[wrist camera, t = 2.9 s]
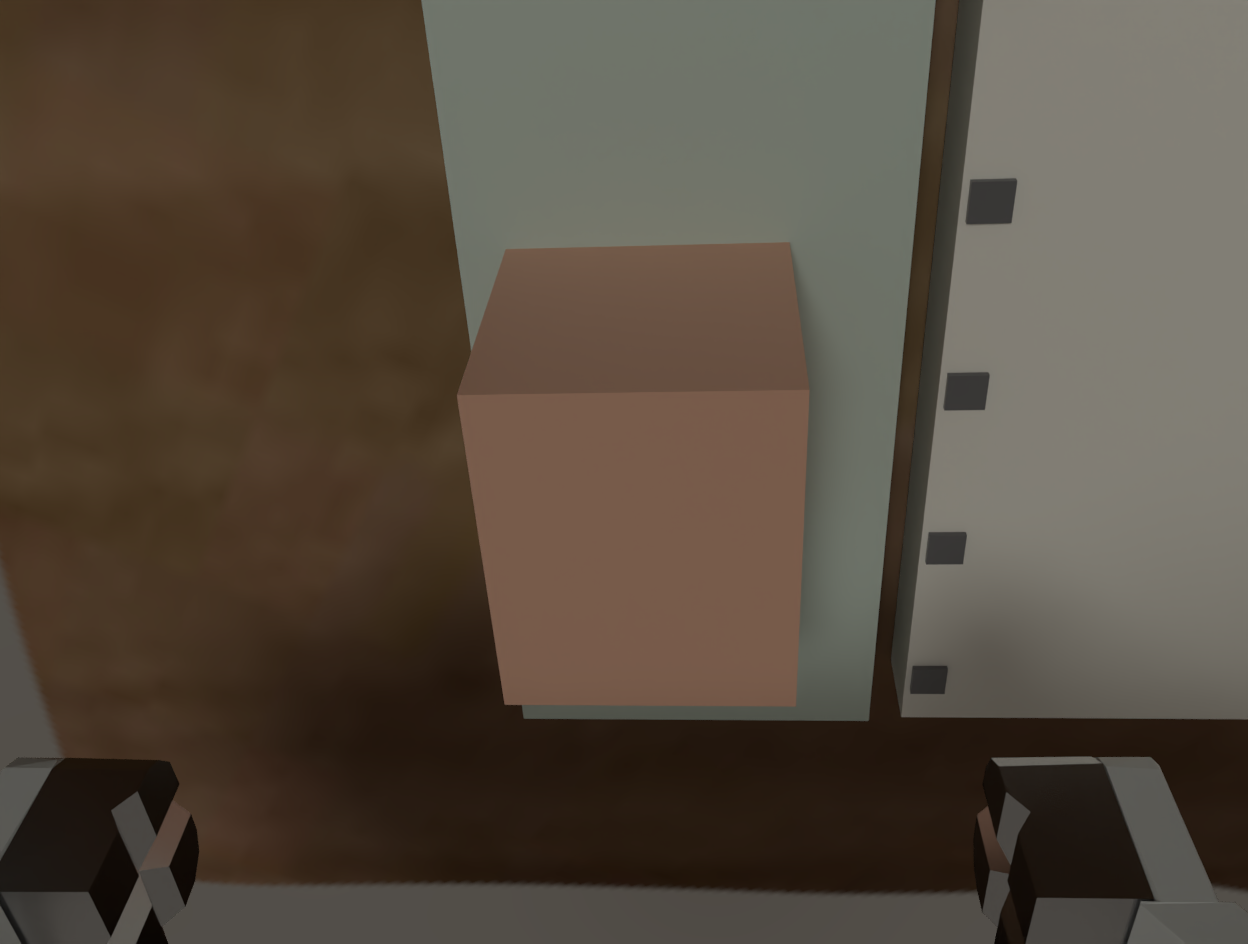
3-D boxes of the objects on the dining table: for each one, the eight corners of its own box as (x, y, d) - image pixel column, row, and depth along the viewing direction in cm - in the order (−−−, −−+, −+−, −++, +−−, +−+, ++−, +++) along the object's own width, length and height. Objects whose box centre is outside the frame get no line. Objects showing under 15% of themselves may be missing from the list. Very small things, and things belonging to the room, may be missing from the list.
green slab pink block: (926, -140, 15) (1021, -47, 11) (860, 663, 23) (896, 911, 19) (431, -116, 16) (318, -18, 11) (533, 662, 24) (491, 904, 19)
